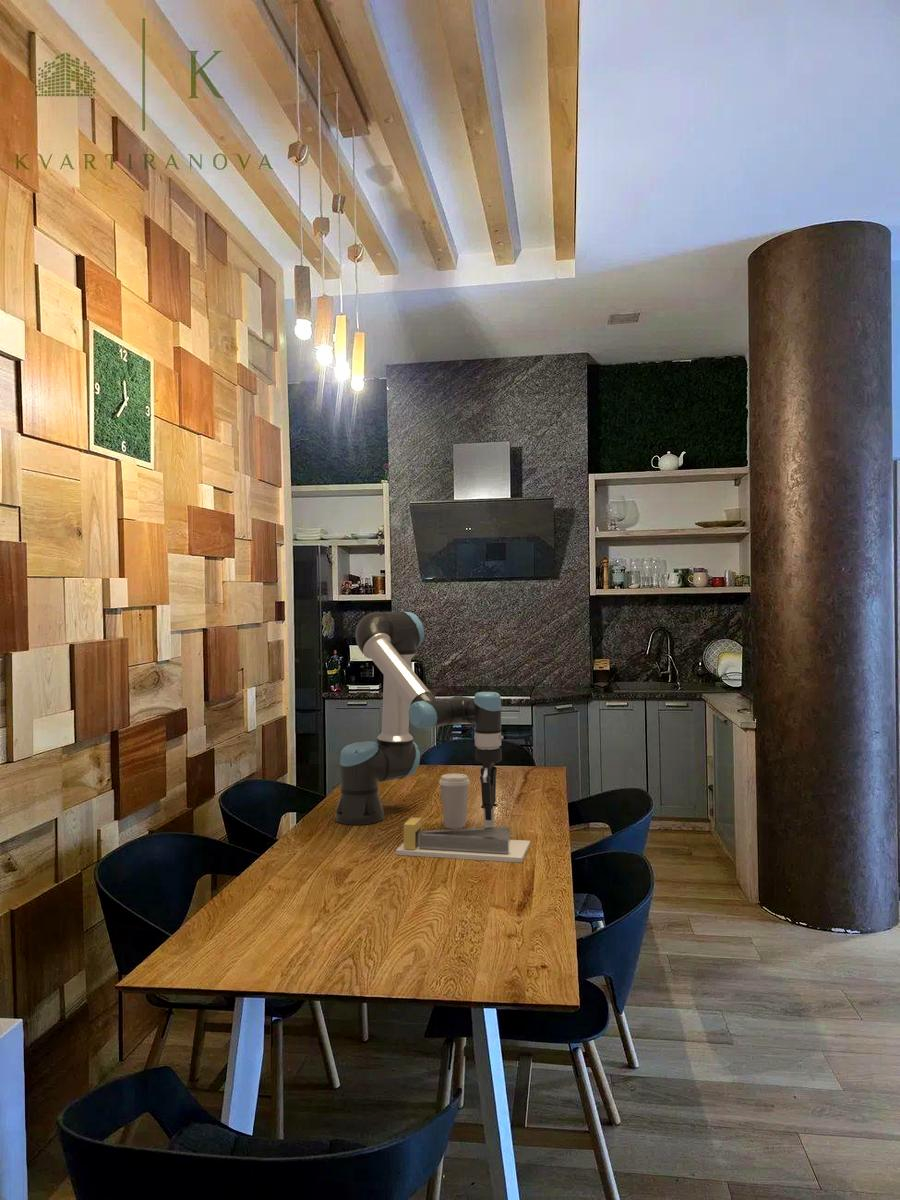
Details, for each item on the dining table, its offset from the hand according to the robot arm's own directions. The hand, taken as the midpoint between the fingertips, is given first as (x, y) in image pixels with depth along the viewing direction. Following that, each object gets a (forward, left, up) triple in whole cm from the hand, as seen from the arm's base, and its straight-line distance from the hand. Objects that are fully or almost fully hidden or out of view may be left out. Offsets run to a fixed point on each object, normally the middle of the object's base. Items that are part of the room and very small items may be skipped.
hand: (489, 830), depth 237 cm
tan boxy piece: (-19, -14, -1) cm, 23 cm away
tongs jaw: (-5, -8, -1) cm, 10 cm away
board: (-5, -10, -3) cm, 12 cm away
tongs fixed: (-6, -14, -1) cm, 15 cm away
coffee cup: (-13, +13, -3) cm, 19 cm away
